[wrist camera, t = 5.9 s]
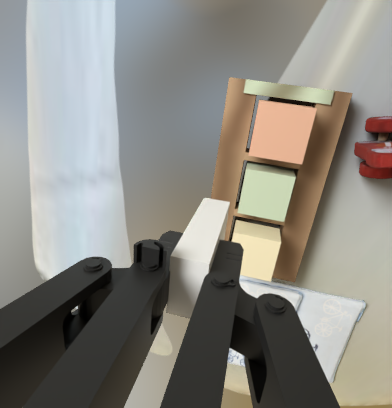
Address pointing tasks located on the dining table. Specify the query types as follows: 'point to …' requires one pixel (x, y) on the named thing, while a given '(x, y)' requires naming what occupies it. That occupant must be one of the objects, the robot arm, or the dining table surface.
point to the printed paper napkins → (312, 319)
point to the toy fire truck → (376, 150)
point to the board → (305, 173)
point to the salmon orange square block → (281, 131)
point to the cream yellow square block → (257, 249)
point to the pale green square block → (266, 191)
